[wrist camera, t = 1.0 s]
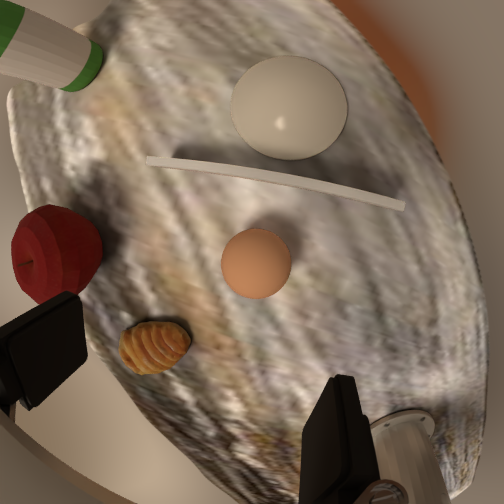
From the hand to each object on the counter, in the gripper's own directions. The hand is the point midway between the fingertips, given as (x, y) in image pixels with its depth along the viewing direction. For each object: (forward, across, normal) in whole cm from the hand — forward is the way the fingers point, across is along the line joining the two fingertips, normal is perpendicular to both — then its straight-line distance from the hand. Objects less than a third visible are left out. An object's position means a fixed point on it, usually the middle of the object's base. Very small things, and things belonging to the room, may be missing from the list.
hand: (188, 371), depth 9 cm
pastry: (+19, +10, +14) cm, 26 cm away
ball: (+16, 0, +1) cm, 16 cm away
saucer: (+19, 0, -14) cm, 24 cm away
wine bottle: (+20, +28, -19) cm, 40 cm away
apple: (+19, +21, +5) cm, 29 cm away
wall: (+19, 0, -7) cm, 20 cm away
